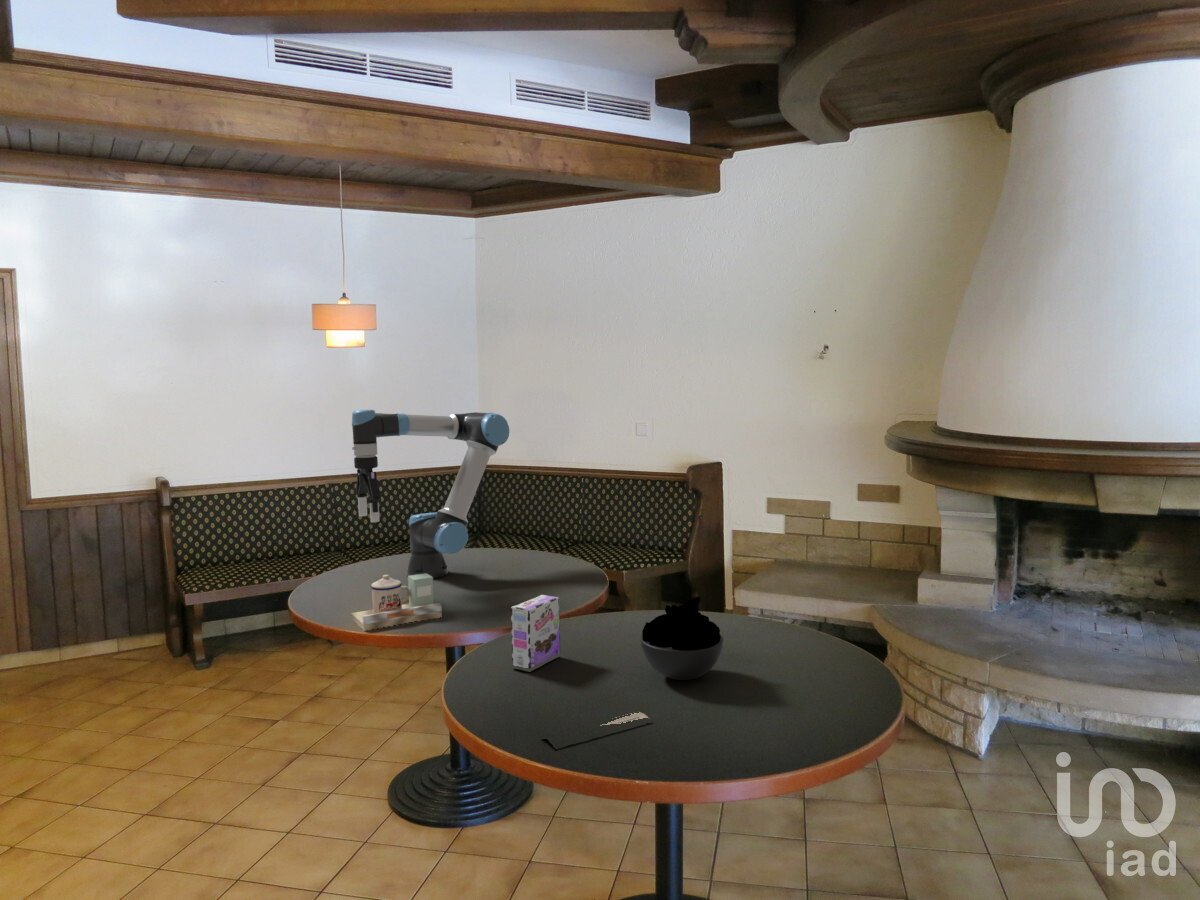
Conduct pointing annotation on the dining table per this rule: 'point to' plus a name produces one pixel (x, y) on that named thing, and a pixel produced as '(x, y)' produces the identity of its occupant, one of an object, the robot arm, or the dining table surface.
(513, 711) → the dining table surface
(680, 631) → the bowl of black rocks
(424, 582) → the tin
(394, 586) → the teacup with lid
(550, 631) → the candy box
